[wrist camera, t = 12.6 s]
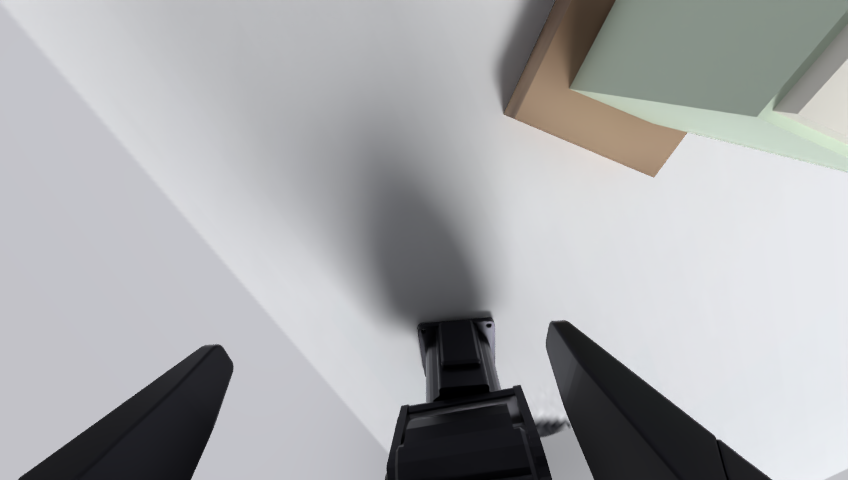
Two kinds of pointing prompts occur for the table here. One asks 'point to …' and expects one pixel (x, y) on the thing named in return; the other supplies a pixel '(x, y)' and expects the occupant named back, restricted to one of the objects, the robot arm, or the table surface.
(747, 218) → the table surface
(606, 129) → the walnut block
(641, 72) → the tea tin
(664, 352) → the table surface
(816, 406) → the table surface
